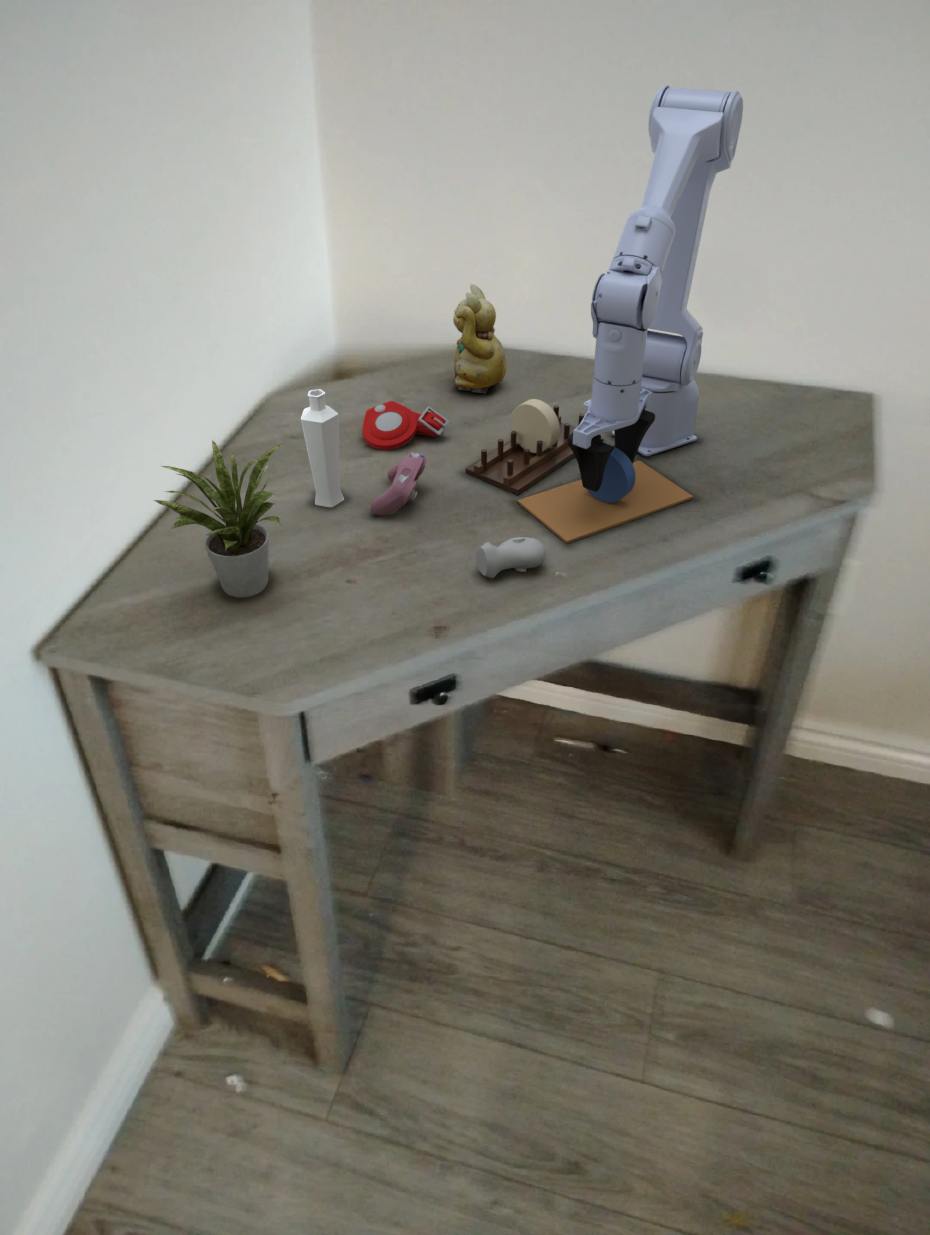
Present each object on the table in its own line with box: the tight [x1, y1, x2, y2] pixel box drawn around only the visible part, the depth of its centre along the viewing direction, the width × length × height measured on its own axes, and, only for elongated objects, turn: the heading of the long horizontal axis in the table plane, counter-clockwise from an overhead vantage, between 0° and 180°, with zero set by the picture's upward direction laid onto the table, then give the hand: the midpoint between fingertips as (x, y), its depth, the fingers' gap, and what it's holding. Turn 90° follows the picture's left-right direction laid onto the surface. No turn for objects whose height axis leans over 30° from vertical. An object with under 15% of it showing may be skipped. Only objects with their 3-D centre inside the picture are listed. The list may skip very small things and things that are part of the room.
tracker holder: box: [362, 400, 450, 451], centre depth 135 cm, size 12×4×10 cm
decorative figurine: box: [452, 283, 507, 394], centre depth 143 cm, size 10×8×15 cm
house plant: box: [152, 439, 285, 598], centre depth 103 cm, size 14×14×16 cm
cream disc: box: [509, 398, 560, 453], centre depth 127 cm, size 2×7×7 cm, turn 50°
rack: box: [464, 404, 585, 496], centre depth 129 cm, size 19×9×4 cm, turn 140°
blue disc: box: [587, 448, 636, 503], centre depth 118 cm, size 2×7×7 cm, turn 51°
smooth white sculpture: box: [475, 536, 546, 579], centre depth 108 cm, size 4×8×5 cm
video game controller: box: [369, 450, 429, 516], centre depth 120 cm, size 10×5×7 cm, turn 168°
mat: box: [517, 460, 694, 544], centre depth 121 cm, size 20×11×1 cm, turn 120°
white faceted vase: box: [300, 388, 345, 508], centre depth 117 cm, size 5×4×15 cm
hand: (607, 476), depth 118 cm, fingers open, 7 cm apart
